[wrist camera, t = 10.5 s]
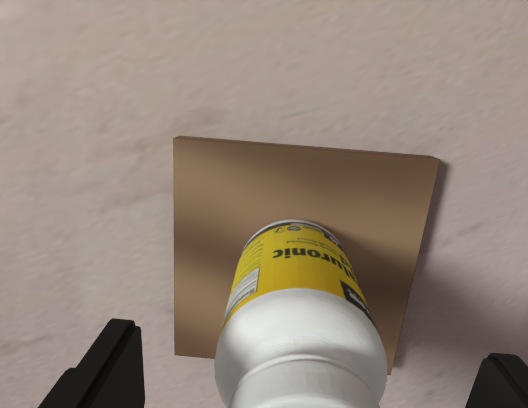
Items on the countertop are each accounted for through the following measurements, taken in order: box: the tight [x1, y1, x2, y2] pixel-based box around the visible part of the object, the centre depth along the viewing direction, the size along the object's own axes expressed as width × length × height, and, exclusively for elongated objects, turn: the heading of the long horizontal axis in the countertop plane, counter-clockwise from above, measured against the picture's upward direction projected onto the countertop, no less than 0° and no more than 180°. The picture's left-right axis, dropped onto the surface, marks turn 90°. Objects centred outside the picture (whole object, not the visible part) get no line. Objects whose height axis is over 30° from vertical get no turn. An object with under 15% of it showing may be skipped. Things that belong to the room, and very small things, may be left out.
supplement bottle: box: [214, 219, 387, 408], centre depth 13 cm, size 5×5×10 cm
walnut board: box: [173, 136, 440, 375], centre depth 18 cm, size 12×12×1 cm
